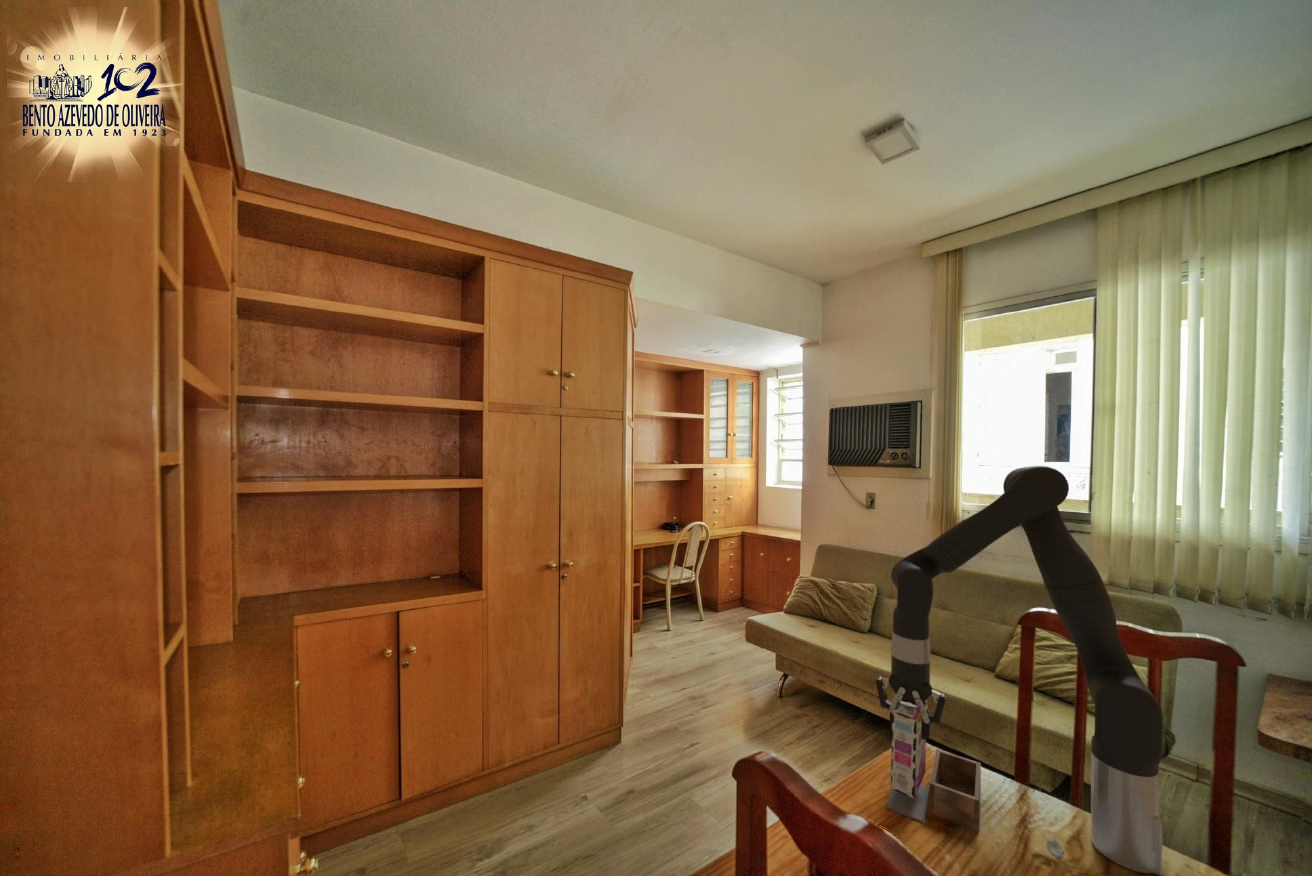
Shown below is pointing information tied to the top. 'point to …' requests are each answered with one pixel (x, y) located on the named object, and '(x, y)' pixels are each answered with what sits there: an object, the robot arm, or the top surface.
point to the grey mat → (910, 803)
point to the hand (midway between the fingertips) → (909, 733)
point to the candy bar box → (907, 749)
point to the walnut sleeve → (953, 801)
